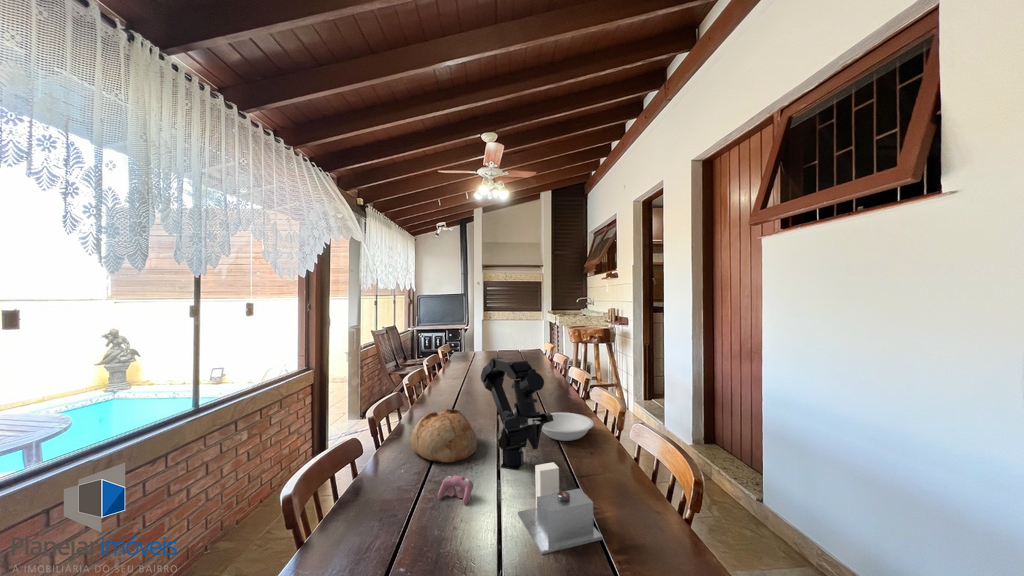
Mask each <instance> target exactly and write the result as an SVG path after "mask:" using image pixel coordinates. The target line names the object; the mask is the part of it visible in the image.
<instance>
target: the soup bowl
mask: <svg viewBox="0 0 1024 576" xmlns="http://www.w3.org/2000/svg"><path fill="white" fill-rule="evenodd" d="M549 413H550V414H552V416H553V420H554V421H552V422H548V423H545V424H544V425H543V426H542V430H541V432H543V433H544V434H545V435H546V436H547V437H549V438H551V439H553V440H557V441H564V442H568V441H569V442H570V441H574V440H575V441H576V440H579V439H581V438H582V437H584V436H585V435H586V434H588V432H589V430H591V429H592V428H593V427H594V425H595V422H594V421H593V419H591V418H590V417H588V416H586V415H583V414H580V413H579V414H578V413H572V412H560V411H559V412H549Z"/></svg>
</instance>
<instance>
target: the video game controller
mask: <svg viewBox="0 0 1024 576" xmlns="http://www.w3.org/2000/svg"><path fill="white" fill-rule="evenodd" d="M457 488H460V489H458V490H457ZM473 489H474V482H473V481H471V479H468V478H467V477H465V476H462V475H449V476H448V475H447V476H446V477H445V478H444V479H443V481H442V483H441V485H440V488H439V490H438V492H437V500H438V501H440V500H442V499H443V498H444V496H445V494H446V492H447V494H448V496H449V497H455V496H457V497H458V498H459V499H462V501H463V505H467V504H468V502H469V501H470V499H471V495H472V491H473Z"/></svg>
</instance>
